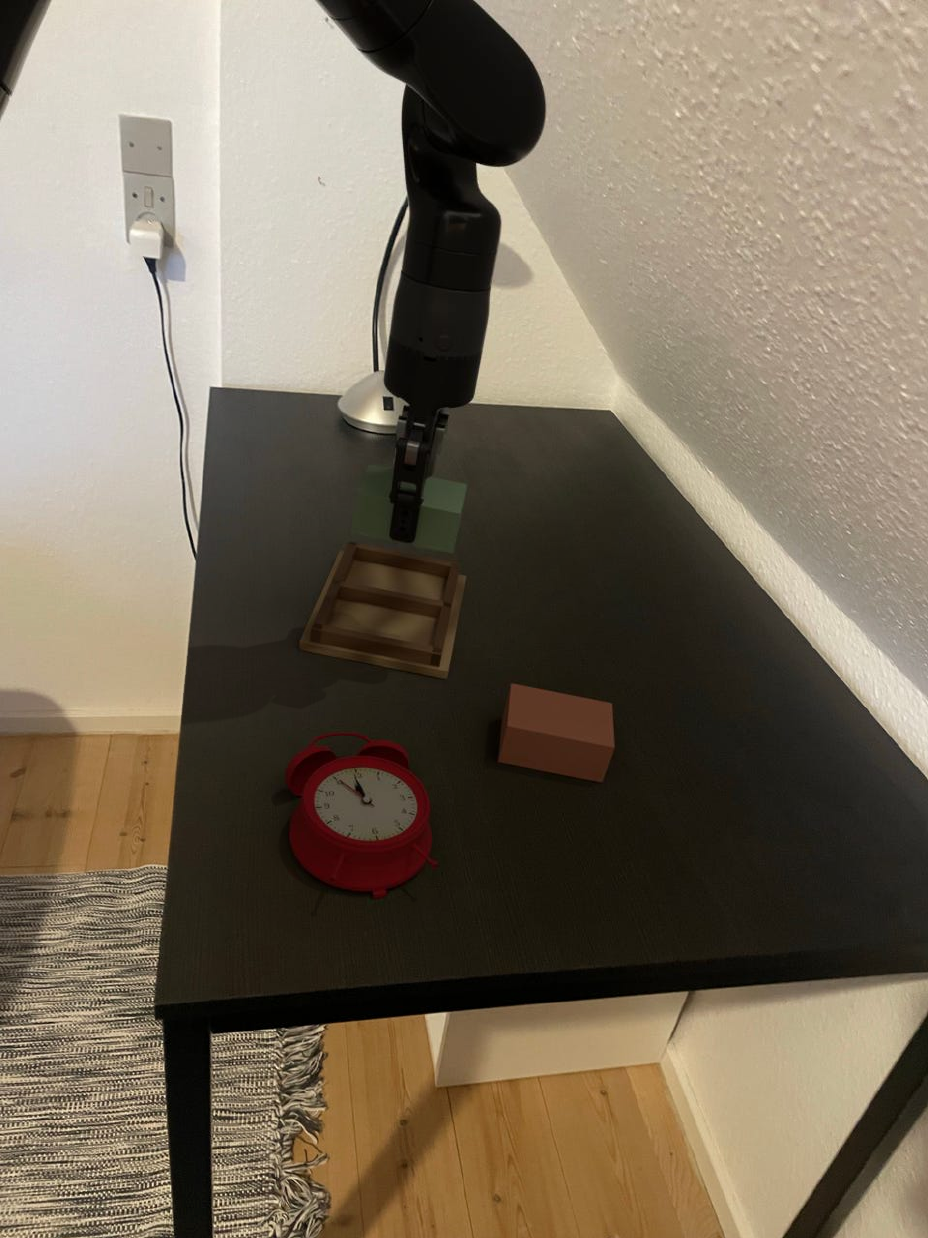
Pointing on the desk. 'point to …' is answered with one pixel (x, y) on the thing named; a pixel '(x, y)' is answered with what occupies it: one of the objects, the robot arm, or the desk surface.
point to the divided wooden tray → (388, 610)
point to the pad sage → (434, 518)
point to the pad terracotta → (557, 733)
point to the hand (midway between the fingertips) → (407, 522)
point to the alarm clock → (359, 816)
